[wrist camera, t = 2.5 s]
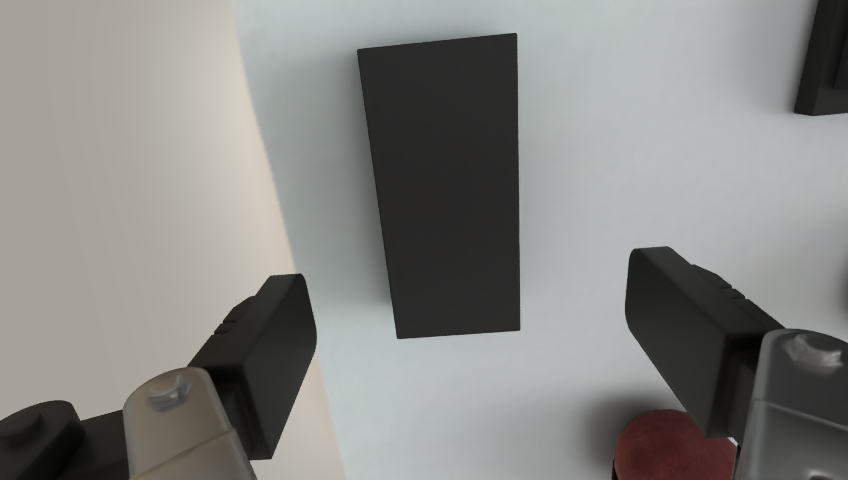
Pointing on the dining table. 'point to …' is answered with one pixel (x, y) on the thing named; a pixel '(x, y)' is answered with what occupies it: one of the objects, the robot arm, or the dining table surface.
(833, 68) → the dock pad
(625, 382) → the dining table surface
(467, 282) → the strip pad
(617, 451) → the hook toy
